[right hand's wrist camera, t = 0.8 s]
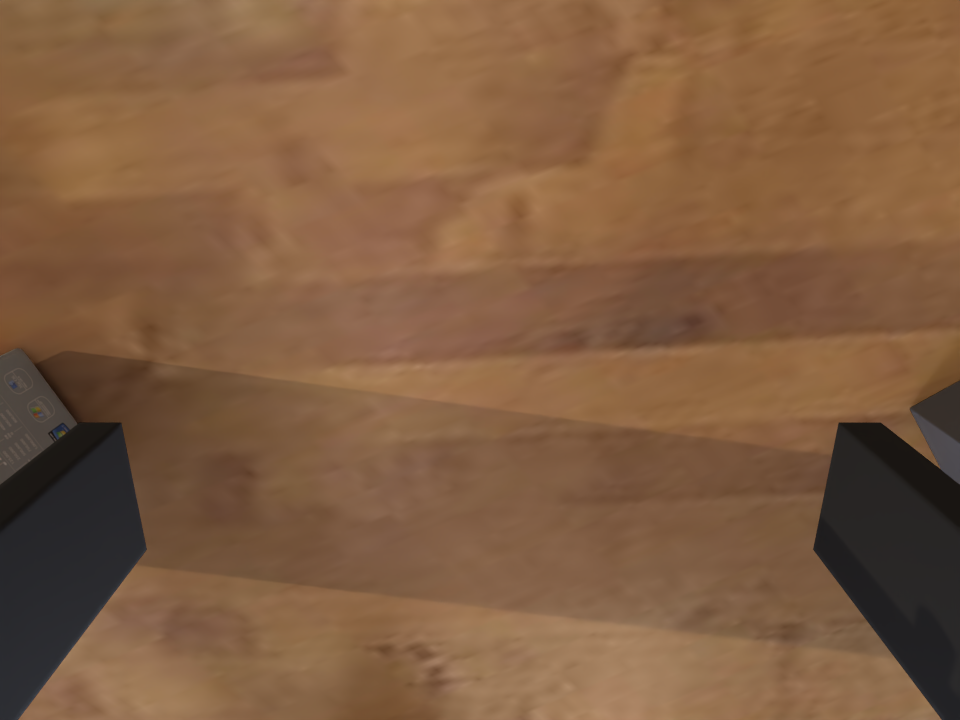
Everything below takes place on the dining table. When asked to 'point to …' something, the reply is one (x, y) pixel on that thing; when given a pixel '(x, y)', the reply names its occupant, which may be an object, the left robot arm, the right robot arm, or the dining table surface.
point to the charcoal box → (942, 427)
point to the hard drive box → (27, 413)
